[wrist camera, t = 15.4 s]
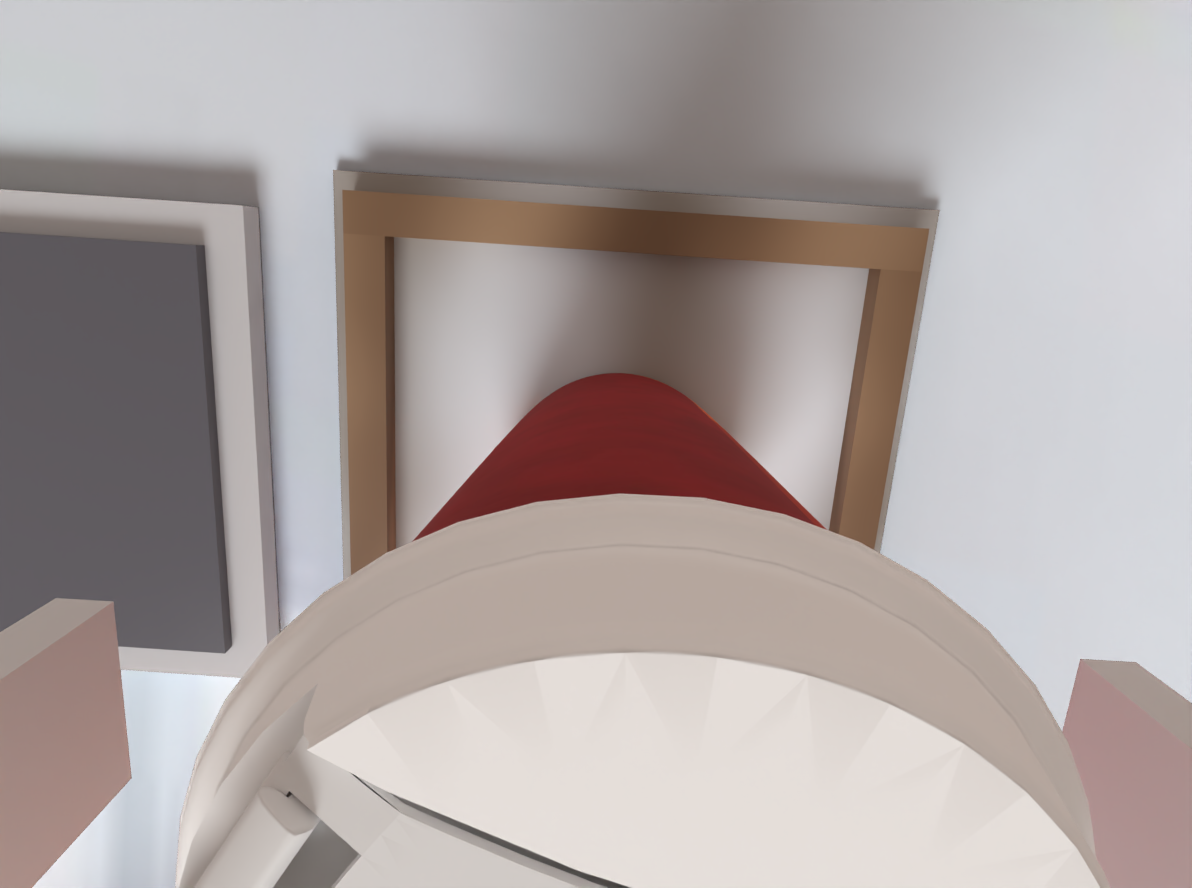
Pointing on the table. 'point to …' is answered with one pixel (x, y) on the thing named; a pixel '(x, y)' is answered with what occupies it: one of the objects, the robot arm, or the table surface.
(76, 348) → the ink pad
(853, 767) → the coffee cup
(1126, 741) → the robot arm
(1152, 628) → the table surface
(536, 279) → the wooden picture frame
